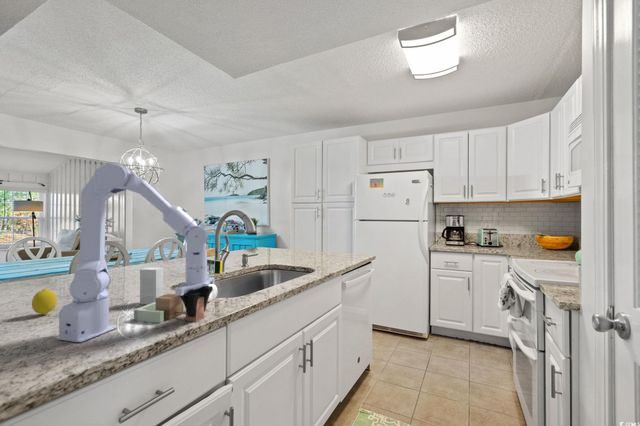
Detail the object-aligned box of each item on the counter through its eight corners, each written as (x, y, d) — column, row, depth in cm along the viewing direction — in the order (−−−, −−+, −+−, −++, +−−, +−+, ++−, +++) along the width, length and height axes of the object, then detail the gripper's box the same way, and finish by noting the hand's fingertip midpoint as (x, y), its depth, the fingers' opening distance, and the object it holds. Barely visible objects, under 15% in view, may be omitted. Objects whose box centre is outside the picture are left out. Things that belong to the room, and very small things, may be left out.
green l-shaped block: (160, 322, 81) (160, 312, 81) (134, 320, 83) (134, 309, 83) (186, 311, 90) (186, 301, 90) (161, 309, 93) (161, 299, 93)
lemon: (41, 318, 85) (41, 291, 85) (26, 317, 86) (26, 290, 86) (61, 312, 90) (61, 287, 90) (47, 311, 91) (47, 286, 91)
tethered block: (194, 322, 81) (194, 300, 81) (155, 318, 84) (155, 297, 84) (205, 316, 86) (205, 296, 86) (168, 312, 89) (168, 293, 89)
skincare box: (164, 301, 102) (164, 267, 102) (155, 305, 97) (156, 269, 97) (147, 300, 102) (148, 267, 102) (139, 304, 98) (139, 269, 98)
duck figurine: (214, 303, 106) (202, 277, 109) (226, 293, 103) (213, 266, 106) (185, 313, 95) (172, 284, 99) (197, 301, 92) (183, 272, 96)
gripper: (191, 272, 76) (191, 324, 76) (223, 263, 90) (223, 307, 90) (168, 271, 77) (168, 322, 77) (203, 262, 92) (203, 305, 91)
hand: (196, 314), depth 84 cm, fingers closed on tethered block, 3 cm apart
